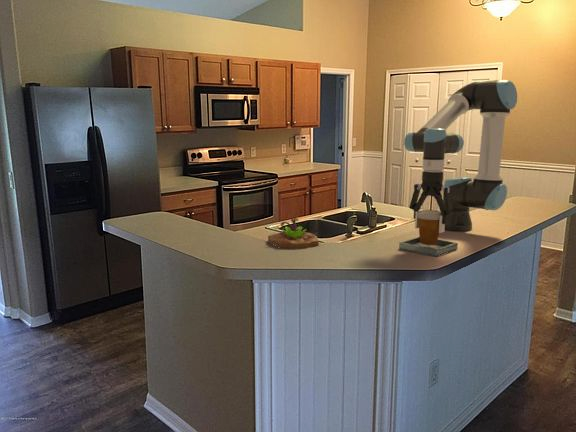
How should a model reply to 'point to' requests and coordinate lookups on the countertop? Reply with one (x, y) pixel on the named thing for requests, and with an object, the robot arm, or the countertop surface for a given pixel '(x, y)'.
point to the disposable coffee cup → (429, 226)
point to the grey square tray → (428, 247)
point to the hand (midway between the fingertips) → (429, 230)
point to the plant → (293, 237)
